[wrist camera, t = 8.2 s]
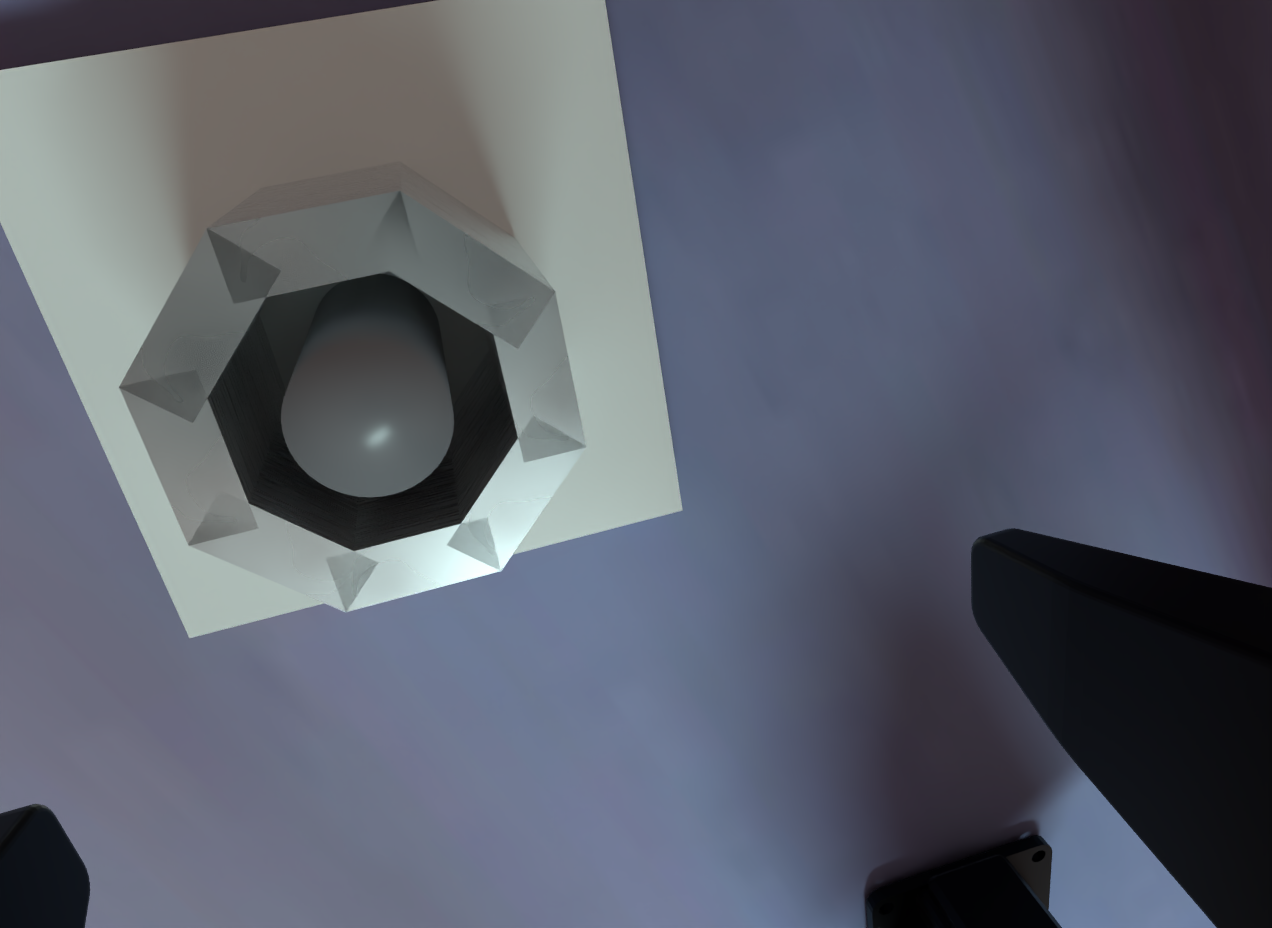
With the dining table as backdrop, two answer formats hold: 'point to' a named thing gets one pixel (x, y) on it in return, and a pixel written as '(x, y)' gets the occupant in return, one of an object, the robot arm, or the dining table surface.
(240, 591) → the post fixture
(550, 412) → the grey hollow octagonal cylinder
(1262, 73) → the dining table surface
